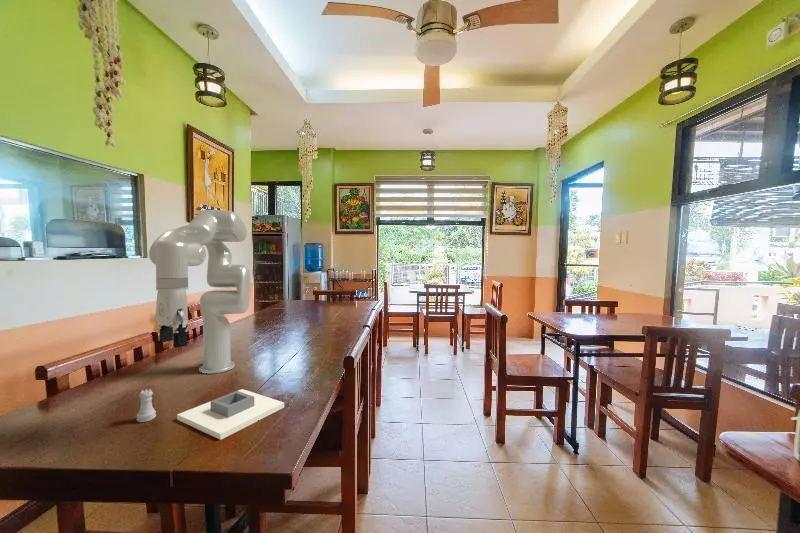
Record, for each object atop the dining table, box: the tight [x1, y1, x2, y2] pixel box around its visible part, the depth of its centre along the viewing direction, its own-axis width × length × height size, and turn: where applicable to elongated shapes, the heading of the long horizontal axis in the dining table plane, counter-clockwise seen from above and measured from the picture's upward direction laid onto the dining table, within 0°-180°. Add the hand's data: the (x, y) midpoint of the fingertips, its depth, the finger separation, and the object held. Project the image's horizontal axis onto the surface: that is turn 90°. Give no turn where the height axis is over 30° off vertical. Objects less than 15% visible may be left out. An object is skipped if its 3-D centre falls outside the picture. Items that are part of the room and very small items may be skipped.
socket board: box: [176, 388, 285, 441], centre depth 95 cm, size 20×20×4 cm
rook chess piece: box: [136, 388, 157, 423], centre depth 91 cm, size 4×4×8 cm
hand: (173, 343), depth 93 cm, fingers open, 9 cm apart
